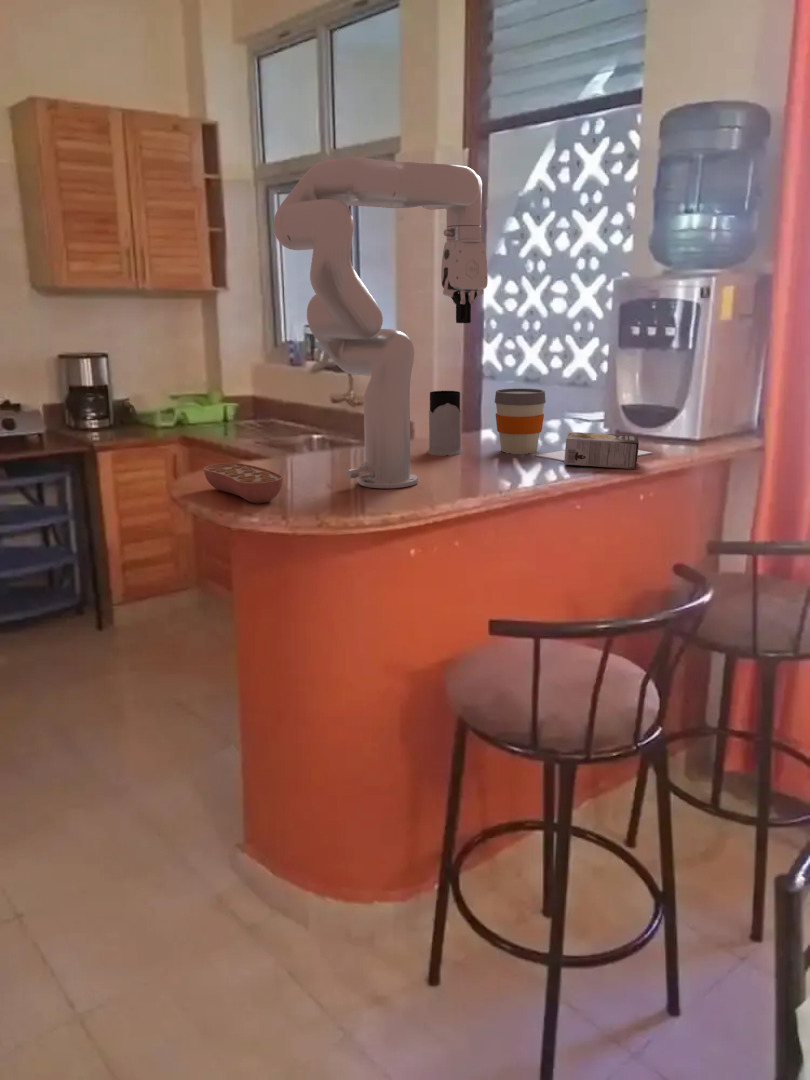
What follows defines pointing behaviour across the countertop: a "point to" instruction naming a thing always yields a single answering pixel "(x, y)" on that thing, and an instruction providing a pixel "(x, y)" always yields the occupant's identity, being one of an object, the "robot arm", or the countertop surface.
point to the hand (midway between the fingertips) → (463, 322)
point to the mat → (561, 455)
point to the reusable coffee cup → (519, 419)
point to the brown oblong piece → (245, 481)
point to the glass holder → (444, 423)
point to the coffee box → (601, 450)
